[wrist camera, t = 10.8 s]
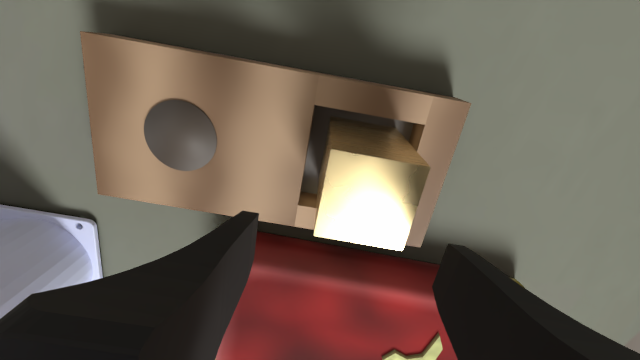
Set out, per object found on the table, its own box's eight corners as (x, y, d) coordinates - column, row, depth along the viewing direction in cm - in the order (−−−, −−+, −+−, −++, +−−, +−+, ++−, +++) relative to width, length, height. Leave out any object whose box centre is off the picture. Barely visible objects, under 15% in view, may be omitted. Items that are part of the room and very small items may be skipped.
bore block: (123, 178, 21) (96, 194, 19) (112, 34, 18) (78, 31, 15) (411, 226, 22) (420, 248, 19) (453, 97, 18) (472, 103, 16)
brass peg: (318, 177, 20) (313, 235, 14) (330, 115, 19) (331, 149, 12) (379, 187, 20) (402, 251, 14) (396, 128, 19) (430, 167, 12)
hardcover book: (237, 221, 23) (217, 256, 19) (512, 272, 24) (548, 316, 20) (224, 339, 27) (206, 387, 23) (456, 378, 28) (476, 430, 24)
